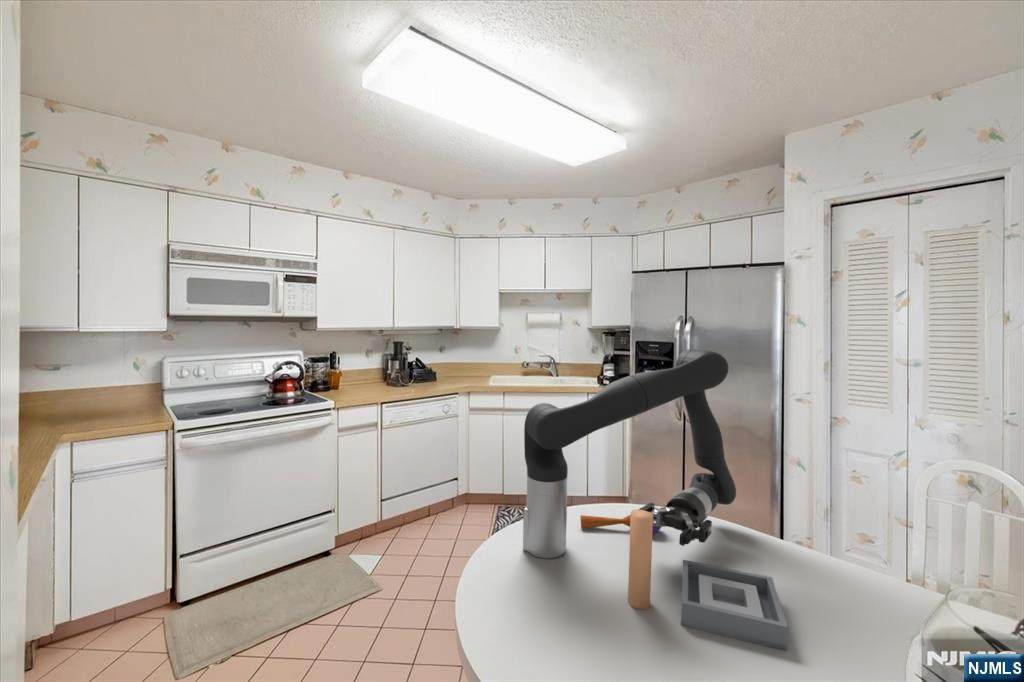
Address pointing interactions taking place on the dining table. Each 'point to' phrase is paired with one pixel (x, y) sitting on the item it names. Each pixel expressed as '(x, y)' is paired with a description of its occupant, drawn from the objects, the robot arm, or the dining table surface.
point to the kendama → (608, 522)
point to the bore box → (732, 604)
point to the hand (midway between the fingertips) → (660, 533)
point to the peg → (640, 559)
